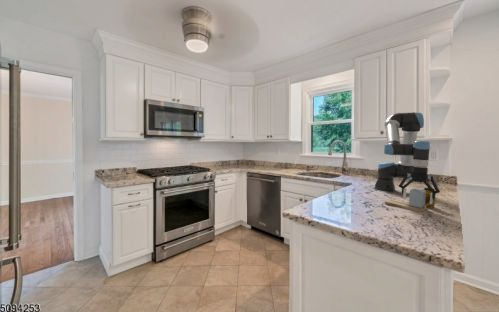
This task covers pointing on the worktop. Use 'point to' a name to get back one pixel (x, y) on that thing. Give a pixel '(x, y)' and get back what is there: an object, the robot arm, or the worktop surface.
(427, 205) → the condiment
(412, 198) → the block
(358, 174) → the worktop surface
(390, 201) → the board
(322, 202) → the worktop surface
